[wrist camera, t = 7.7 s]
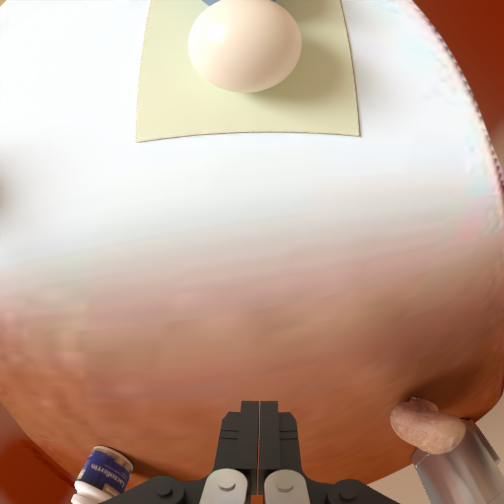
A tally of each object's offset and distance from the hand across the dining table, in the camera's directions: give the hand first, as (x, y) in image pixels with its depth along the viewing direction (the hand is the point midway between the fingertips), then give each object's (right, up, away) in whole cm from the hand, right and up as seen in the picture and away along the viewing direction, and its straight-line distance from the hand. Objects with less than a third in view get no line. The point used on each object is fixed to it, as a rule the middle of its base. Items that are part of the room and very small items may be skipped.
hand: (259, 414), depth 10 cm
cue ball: (-1, +18, +1) cm, 18 cm away
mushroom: (+15, -7, +10) cm, 19 cm away
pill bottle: (-18, -19, +14) cm, 30 cm away
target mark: (-1, +21, +3) cm, 21 cm away
